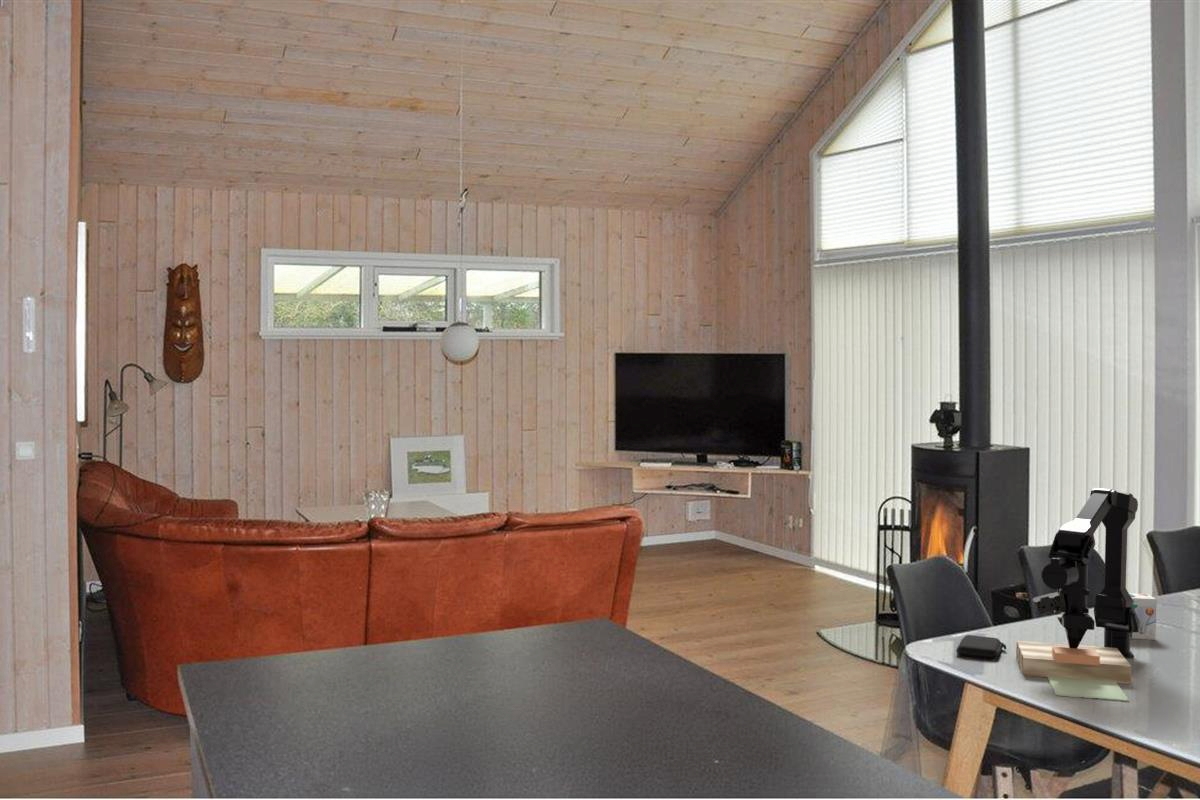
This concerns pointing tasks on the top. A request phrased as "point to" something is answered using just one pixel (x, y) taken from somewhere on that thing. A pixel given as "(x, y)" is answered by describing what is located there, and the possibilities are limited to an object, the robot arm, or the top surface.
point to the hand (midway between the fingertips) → (1072, 651)
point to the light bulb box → (1145, 616)
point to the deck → (1042, 664)
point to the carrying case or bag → (980, 647)
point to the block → (1075, 655)
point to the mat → (1087, 688)
